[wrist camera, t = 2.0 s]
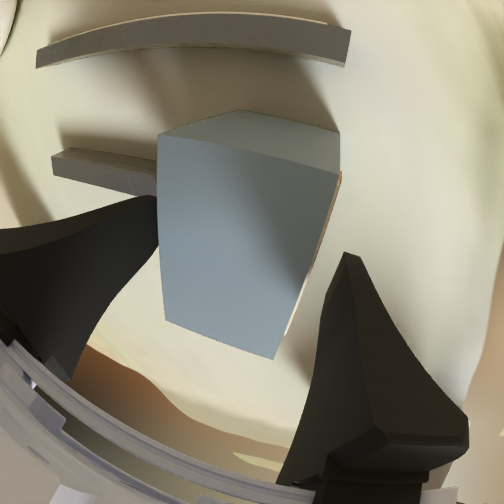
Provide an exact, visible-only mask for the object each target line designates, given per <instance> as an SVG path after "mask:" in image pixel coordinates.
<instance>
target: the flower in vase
mask: <svg viewBox="0 0 504 504" xmlns="http://www.w3.org/2000/svg"><path fill="white" fill-rule="evenodd" d="M16 5H17V0H0V55H1V53H2V51H3V48H4V46H5V44H6V41H7V38H8V36H9V33H10V30H11V27H12V23H13V19H14V15H15V10H16Z"/></svg>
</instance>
